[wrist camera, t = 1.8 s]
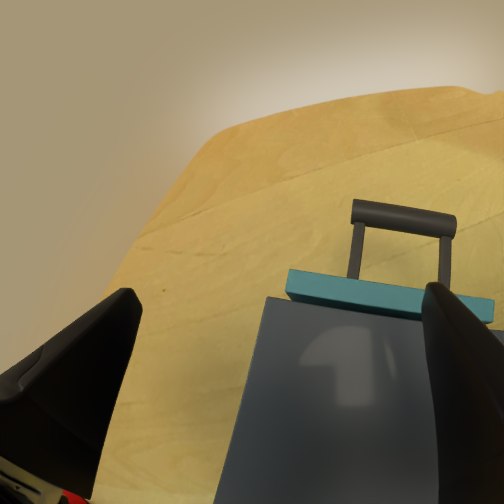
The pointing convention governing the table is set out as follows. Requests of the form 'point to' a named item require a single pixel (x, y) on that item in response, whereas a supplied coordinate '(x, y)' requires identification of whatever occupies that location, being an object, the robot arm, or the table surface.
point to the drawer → (378, 294)
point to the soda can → (73, 498)
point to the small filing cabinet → (334, 412)
